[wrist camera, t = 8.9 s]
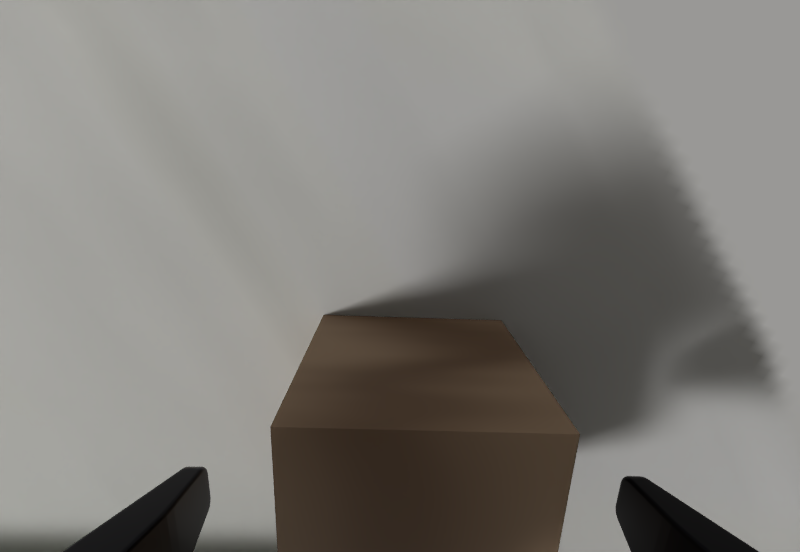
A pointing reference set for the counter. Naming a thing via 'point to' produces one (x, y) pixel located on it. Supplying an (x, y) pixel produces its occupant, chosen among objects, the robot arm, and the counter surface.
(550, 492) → the walnut cube
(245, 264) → the counter surface
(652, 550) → the robot arm
